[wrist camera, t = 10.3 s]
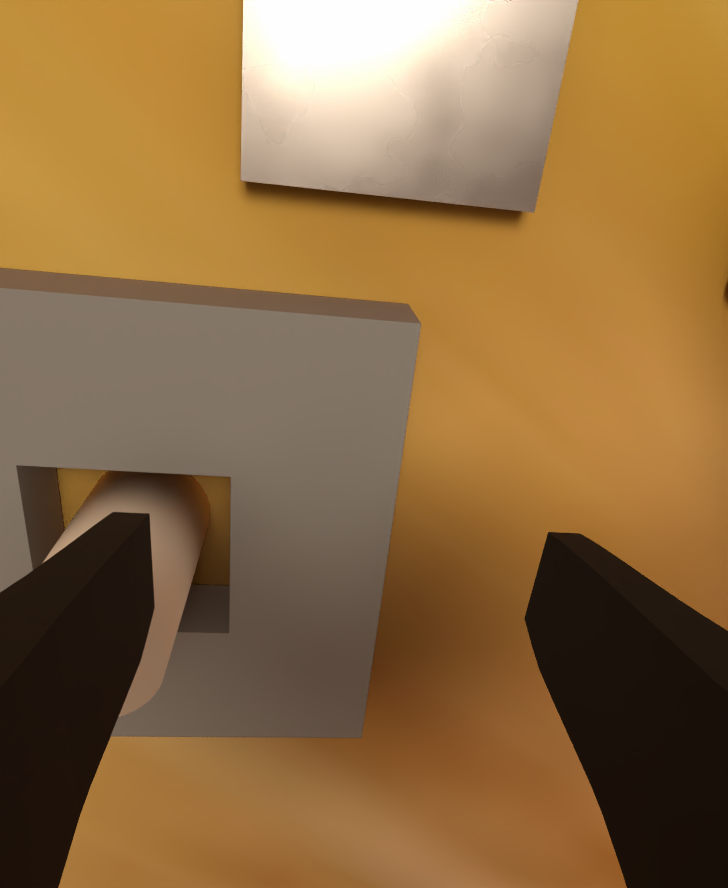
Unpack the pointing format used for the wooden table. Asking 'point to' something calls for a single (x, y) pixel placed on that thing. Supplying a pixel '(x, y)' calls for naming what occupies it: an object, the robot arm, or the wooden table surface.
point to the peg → (153, 554)
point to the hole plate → (223, 474)
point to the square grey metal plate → (403, 96)
